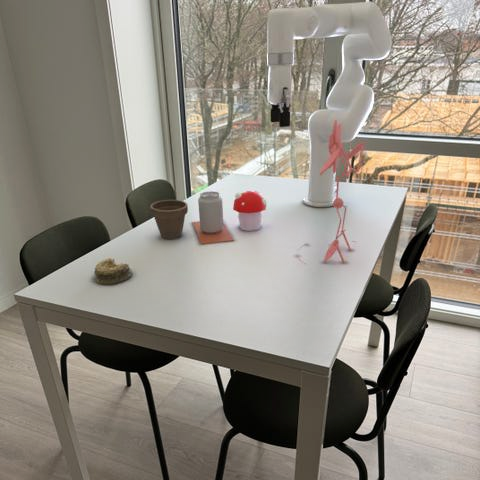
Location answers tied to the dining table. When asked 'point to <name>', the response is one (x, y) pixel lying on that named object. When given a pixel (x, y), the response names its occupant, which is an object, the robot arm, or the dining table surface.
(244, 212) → the mushroom
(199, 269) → the dining table surface
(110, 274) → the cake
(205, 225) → the can
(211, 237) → the napkin
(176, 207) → the flower pot
